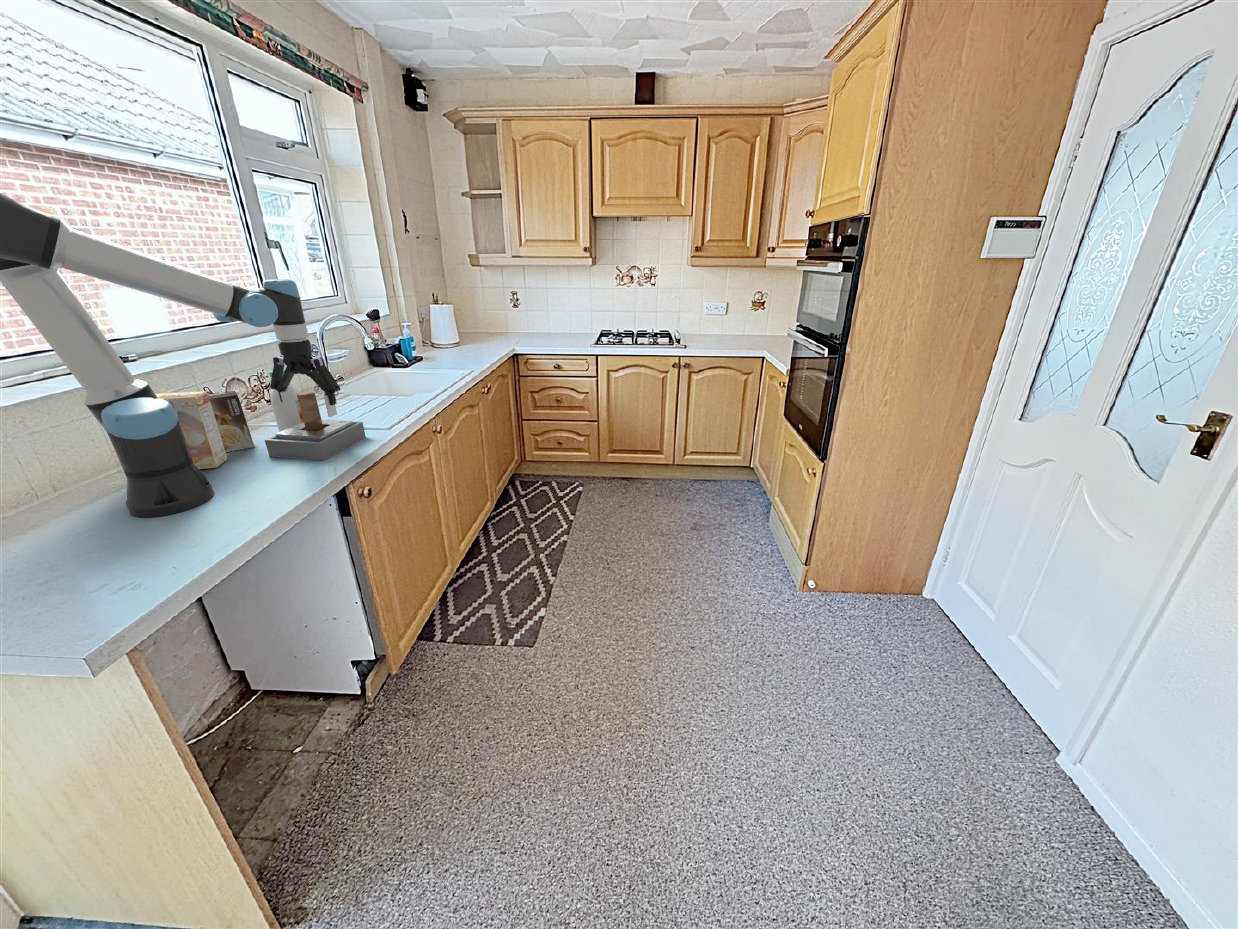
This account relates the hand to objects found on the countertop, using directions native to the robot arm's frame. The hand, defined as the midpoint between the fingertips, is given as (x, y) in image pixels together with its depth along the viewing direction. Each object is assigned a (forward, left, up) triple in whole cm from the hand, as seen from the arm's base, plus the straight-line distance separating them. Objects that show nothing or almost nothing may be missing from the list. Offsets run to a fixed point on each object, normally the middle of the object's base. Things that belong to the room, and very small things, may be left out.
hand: (311, 414), depth 144 cm
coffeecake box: (-19, +23, -10) cm, 32 cm away
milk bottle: (+10, +16, -10) cm, 22 cm away
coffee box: (-5, +23, -10) cm, 26 cm away
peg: (0, 0, -9) cm, 9 cm away
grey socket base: (0, 0, -10) cm, 10 cm away
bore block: (0, 0, -10) cm, 10 cm away
